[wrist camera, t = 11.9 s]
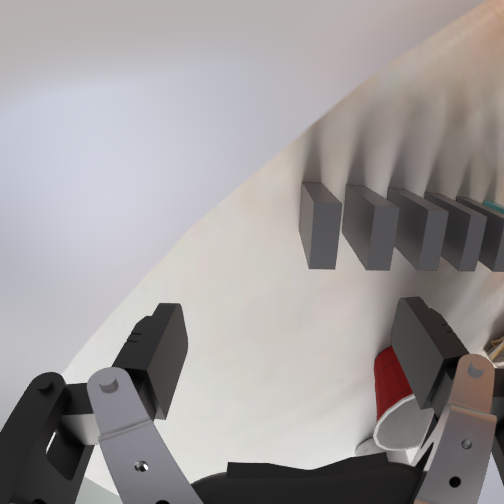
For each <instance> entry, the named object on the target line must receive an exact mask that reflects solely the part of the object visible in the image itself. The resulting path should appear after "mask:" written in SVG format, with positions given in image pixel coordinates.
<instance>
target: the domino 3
mask: <svg viewBox="0 0 504 504" xmlns="http://www.w3.org/2000/svg"><path fill="white" fill-rule="evenodd" d="M387 200H388V201H390V202H391V203H393V204H394V205H396V206H397V207H399V216H398V223H397V230H396V236H395V242H394V246H395V247H396V248H397V249H398V250H399V251H400V252H401V254H402V255H403V256H404V257H405V258H406V259H407V260H408V261H409V262H410V263H411V264H412V265H413V266H414V267H415V268H416V269H417V270H437V268H438V264H439V259H440V255H441V250H442V246H443V241H444V236H445V231H446V225H447V219H448V213H449V212H448V211H446V210H445V209H443V208H441V207H439V206H437V205H435V204H433V203H431V202H429V201H428V200H426V199H424V198H422V197H420V196H418V195H416V194H414V193H412V192H410V191H408V190H406V189H398V188H388V194H387Z"/></svg>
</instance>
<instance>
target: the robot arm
mask: <svg viewBox="0 0 504 504" xmlns="http://www.w3.org/2000/svg"><path fill="white" fill-rule="evenodd" d="M391 344H392V347H393V350H394V352H395V354H396V356H397V358H398V360H399V362H400V364H401V367H402V369H403V371H404V373H405V375H406V378H407V380H408V382H409V384H410V387H411V389H412V391H413V393H414V396H415V398H416V400H417V403H418V405H419V407H420V410H423V409H428V408H433V410H434V413H433V414H432V416H431V419H430V421H429V424H428V427H427V429H426V432H425V434H424V437H423V439H422V441H421V444H420V446H419V449H418V451H417V453H416V455H415V457H414V459H413V461H412V463H411V464H409V461H408V457H407V454H406V450H402V451H393V450H385V449H383V448H381V447H379V446H377V445H376V442H375V440H374V438H371V439H368V440H367V441H365V442H363V443H362V444H361V445H359V446H358V448H357V449H356V451H355V454H356V457H350V458H347V459H344V460H341V461H338V462H335V463H332V464H329V465H326V466H323V467H320V468H317V469H313V470H304V469H298V468H292V467H286V466H280V465H275V464H270V463H237V462H228V466H227V472H223V473H218V474H214V475H210V476H207V477H204V478H202V479H200V480H198V481H195V482H193V483H192V484H190V483H189V482H188V480H187V479H186V477H185V476H184V474H183V473H182V471H181V469H180V468H179V466H178V465H177V463H176V461H175V460H174V458H173V456H172V455H171V453H170V451H169V450H168V448H167V446H166V445H165V443H164V441H163V439H162V438H161V436H160V434H159V432H158V430H157V429H156V427H155V425H154V423H153V422H154V419H162V420H166V417H167V414H168V411H169V408H170V405H171V401H172V398H173V395H174V392H175V389H176V386H177V383H178V379H179V376H180V373H181V370H182V367H183V364H184V361H185V358H186V355H187V351H188V337H187V332H186V327H185V322H184V317H183V311H182V307H181V305H180V304H179V303H159V304H158V306H157V308H156V310H155V311H154V313H153V315H152V316H146V317H144V318H143V319H142V320H140V321H139V322H138V323H137V324H136V325H135V327H134V329H133V330H132V332H131V334H130V335H129V337H128V339H127V342H125V344H124V346H123V347H122V349H121V351H120V352H119V354H118V356H117V358H116V359H115V361H114V363H113V365H112V366H111V367H109V368H104V369H101V370H99V371H97V372H96V373H94V374H93V375H92V376H91V377H90V378H89V380H88V383H79V384H66V382H65V381H64V379H63V377H62V376H61V375H60V374H58V373H55V372H48V373H43V374H41V375H39V376H37V377H36V378H34V379H33V380H32V382H31V383H30V384H29V386H28V387H27V389H26V391H25V392H24V394H23V396H22V397H21V398H20V400H19V402H18V403H17V405H16V407H15V408H14V410H13V412H12V413H11V415H10V417H9V418H8V420H7V422H6V423H5V425H4V427H3V429H2V430H1V432H0V504H75V501H76V498H77V495H78V492H79V489H80V486H81V483H82V480H83V477H84V474H85V471H86V468H87V465H88V463H89V460H90V457H91V454H92V451H93V449H94V446H95V445H97V444H99V445H100V448H101V450H102V453H103V456H104V459H105V461H106V464H107V467H108V469H109V472H110V474H111V477H112V479H113V482H114V484H115V486H116V489H117V491H118V493H119V495H120V498H121V500H122V502H123V504H477V502H478V499H479V496H480V493H481V489H482V486H483V482H484V479H485V475H486V471H487V467H488V463H489V459H490V454H491V452H492V455H493V457H494V460H495V463H496V465H497V468H498V471H499V474H500V477H501V480H502V483H503V485H504V369H503V368H494V367H493V365H492V363H491V362H490V361H489V360H488V359H487V358H485V357H483V356H481V355H478V354H469V352H468V351H467V349H466V348H465V346H464V345H463V344H462V342H461V341H460V339H459V338H458V337H457V335H456V334H455V333H454V332H453V330H452V329H451V327H450V326H449V325H448V323H447V322H446V321H445V319H444V318H443V317H442V315H440V314H439V313H437V312H436V311H434V310H433V309H432V308H430V309H429V308H428V307H427V305H426V304H425V303H424V301H423V300H422V299H421V298H420V297H407V298H401V299H400V300H399V302H398V306H397V310H396V315H395V319H394V323H393V328H392V332H391ZM54 432H55V433H56V434H55V436H54V439H53V441H52V443H51V445H50V447H49V449H48V452H47V454H46V449H47V446H48V444H49V442H50V440H51V437H52V435H53V433H54Z"/></svg>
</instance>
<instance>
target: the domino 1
mask: <svg viewBox="0 0 504 504" xmlns="http://www.w3.org/2000/svg"><path fill="white" fill-rule="evenodd" d="M341 210H342V203H341V202H340V201H339V200H338V199H337V198H336V197H335V196H334V195H333V194H332V193H331V192H330V191H329V190H328V189H327V188H326V187H325V186H324V185H323V184H322V183H311V182H302V183H301V204H300V223H299V233H300V237H301V240H302V244H303V248H304V252H305V256H306V260H307V263H308V267H309V269H334V270H335V266H336V258H337V250H338V241H339V231H340V221H341Z"/></svg>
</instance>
